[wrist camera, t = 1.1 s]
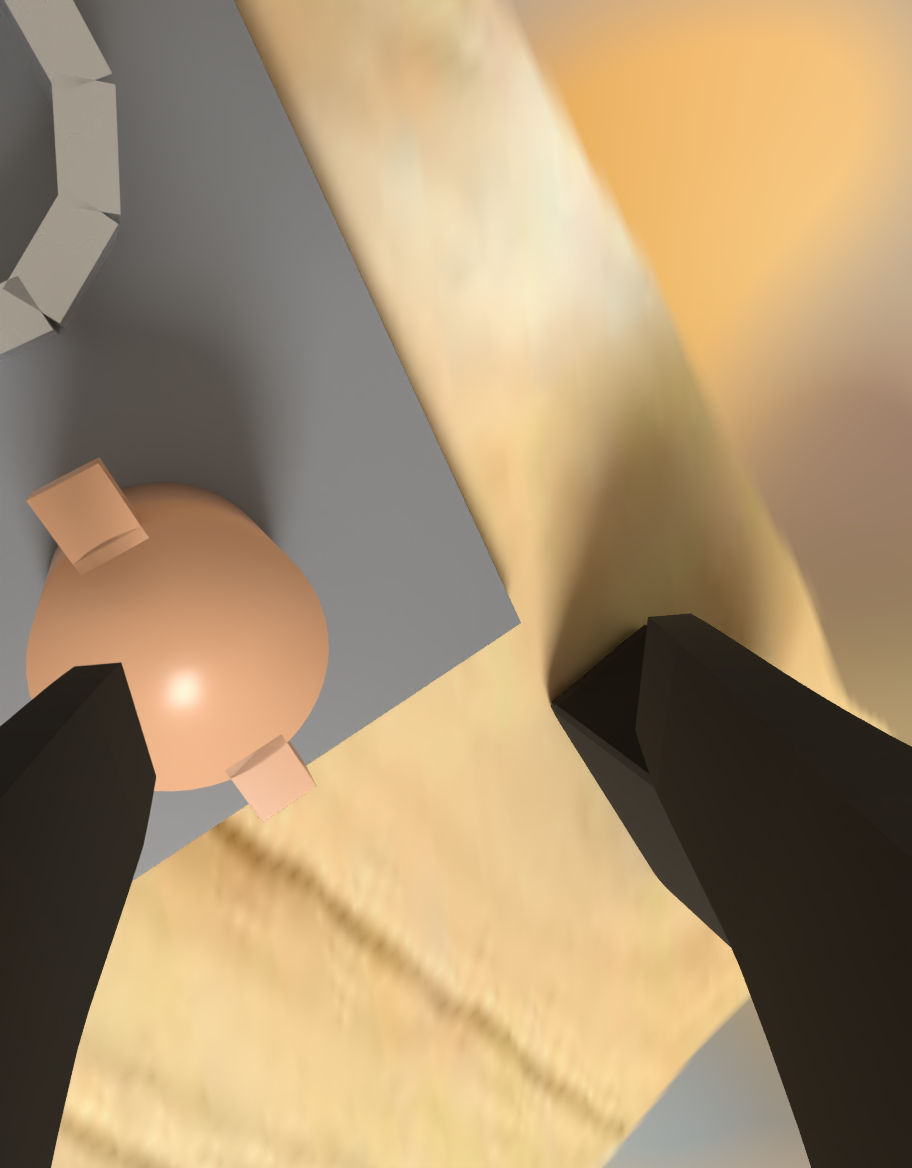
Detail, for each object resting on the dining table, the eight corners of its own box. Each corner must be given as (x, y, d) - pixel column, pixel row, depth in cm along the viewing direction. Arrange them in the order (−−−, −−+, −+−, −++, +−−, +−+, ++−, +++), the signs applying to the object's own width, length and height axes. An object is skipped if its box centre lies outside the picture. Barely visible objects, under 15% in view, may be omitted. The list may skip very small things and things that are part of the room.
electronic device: (656, 881, 29) (902, 1109, 20) (539, 696, 24) (788, 882, 15) (735, 807, 29) (1005, 995, 20) (636, 616, 25) (925, 749, 16)
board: (29, 925, 19) (25, 951, 18) (-999, -103, 10) (-1105, -148, 9) (504, 613, 23) (521, 622, 22) (48, -361, 14) (44, -412, 13)
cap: (158, 762, 19) (173, 882, 14) (-39, 510, 16) (-96, 564, 11) (333, 651, 20) (397, 731, 15) (181, 397, 17) (207, 407, 12)
